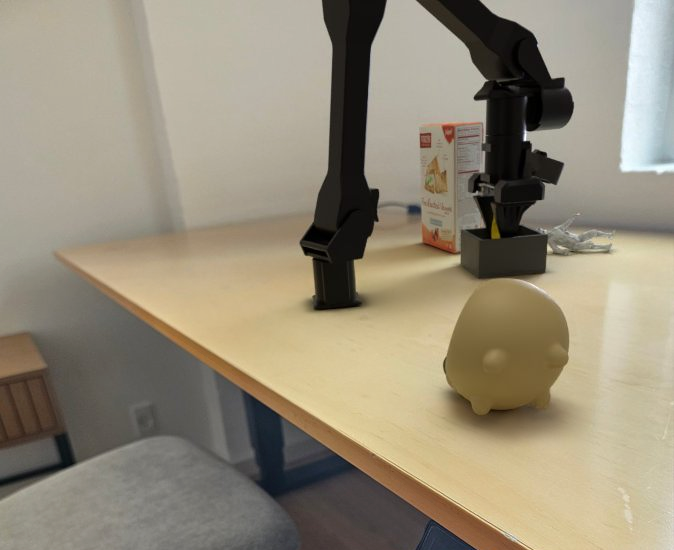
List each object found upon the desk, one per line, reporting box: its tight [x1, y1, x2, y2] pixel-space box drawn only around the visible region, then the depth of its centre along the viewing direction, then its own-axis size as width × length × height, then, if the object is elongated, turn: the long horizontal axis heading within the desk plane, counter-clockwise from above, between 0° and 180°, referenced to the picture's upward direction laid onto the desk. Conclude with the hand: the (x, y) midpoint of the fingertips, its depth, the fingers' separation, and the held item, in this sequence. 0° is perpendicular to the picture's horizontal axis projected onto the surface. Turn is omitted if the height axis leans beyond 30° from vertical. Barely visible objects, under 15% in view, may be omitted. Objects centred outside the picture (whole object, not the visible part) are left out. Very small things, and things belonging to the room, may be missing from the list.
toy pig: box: [442, 277, 570, 416], centre depth 54 cm, size 10×12×11 cm
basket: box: [460, 223, 548, 280], centre depth 102 cm, size 11×10×6 cm
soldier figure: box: [537, 212, 616, 255], centre depth 110 cm, size 8×5×12 cm
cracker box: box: [419, 121, 485, 254], centre depth 118 cm, size 14×6×21 cm, turn 17°
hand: (501, 245), depth 102 cm, fingers closed on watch, 6 cm apart
